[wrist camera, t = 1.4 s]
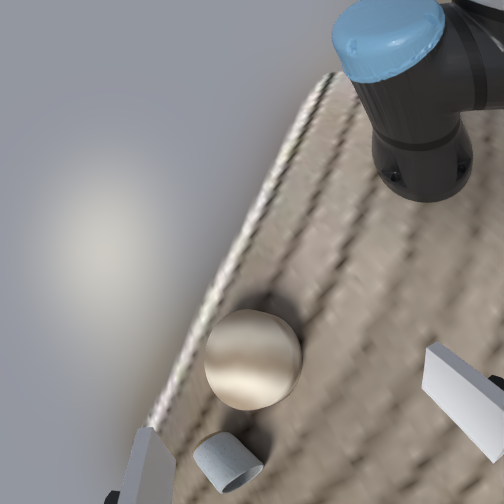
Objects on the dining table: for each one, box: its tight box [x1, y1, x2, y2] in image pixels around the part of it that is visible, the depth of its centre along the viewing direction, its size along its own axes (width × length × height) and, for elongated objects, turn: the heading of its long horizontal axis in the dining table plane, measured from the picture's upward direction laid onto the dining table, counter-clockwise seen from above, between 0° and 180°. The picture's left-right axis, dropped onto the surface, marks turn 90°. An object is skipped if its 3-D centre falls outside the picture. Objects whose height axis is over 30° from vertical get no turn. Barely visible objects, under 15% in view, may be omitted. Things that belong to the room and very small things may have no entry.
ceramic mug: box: [193, 431, 264, 494], centre depth 31 cm, size 11×8×8 cm
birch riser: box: [204, 309, 302, 410], centre depth 37 cm, size 14×14×4 cm
